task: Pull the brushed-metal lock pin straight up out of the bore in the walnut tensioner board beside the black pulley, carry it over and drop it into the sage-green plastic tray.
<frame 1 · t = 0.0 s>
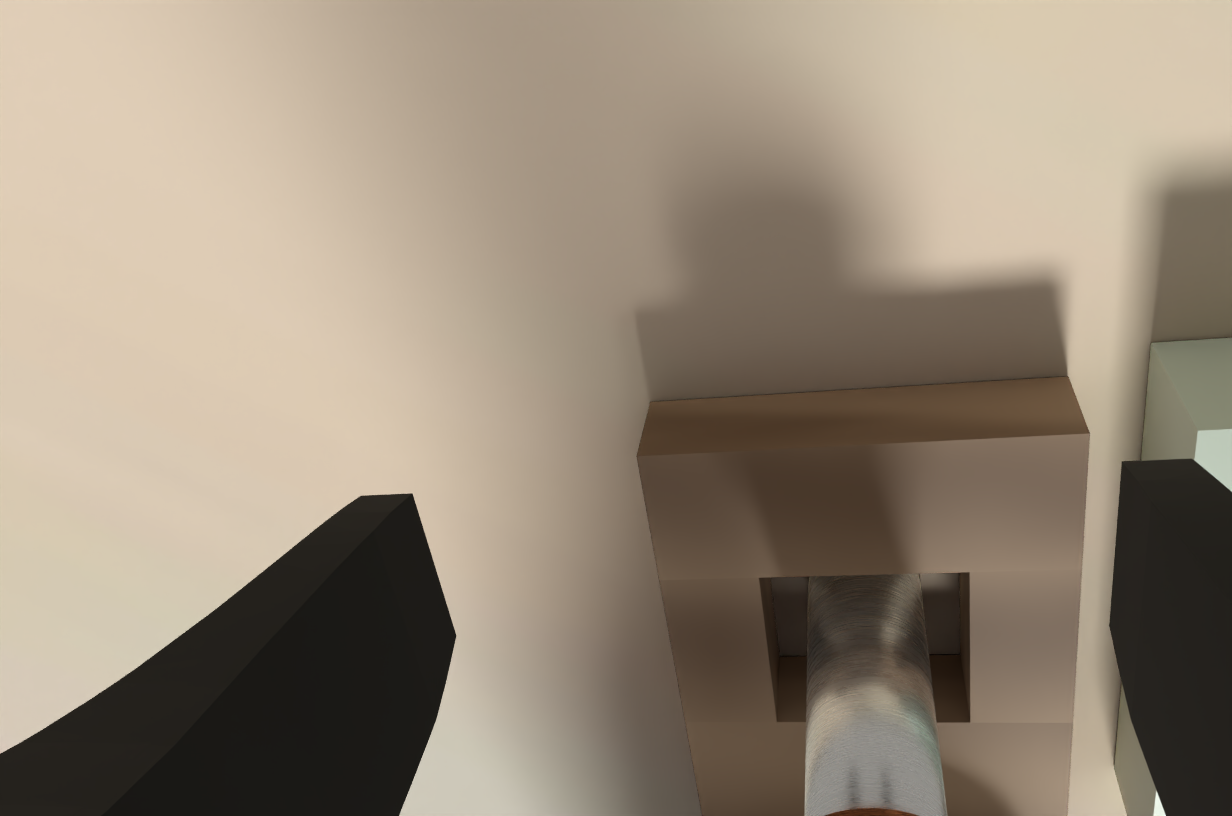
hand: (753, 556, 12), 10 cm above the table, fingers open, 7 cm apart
tensioner board: (872, 718, 26), on the table
lock pin: (864, 587, 24), resting in tensioner board
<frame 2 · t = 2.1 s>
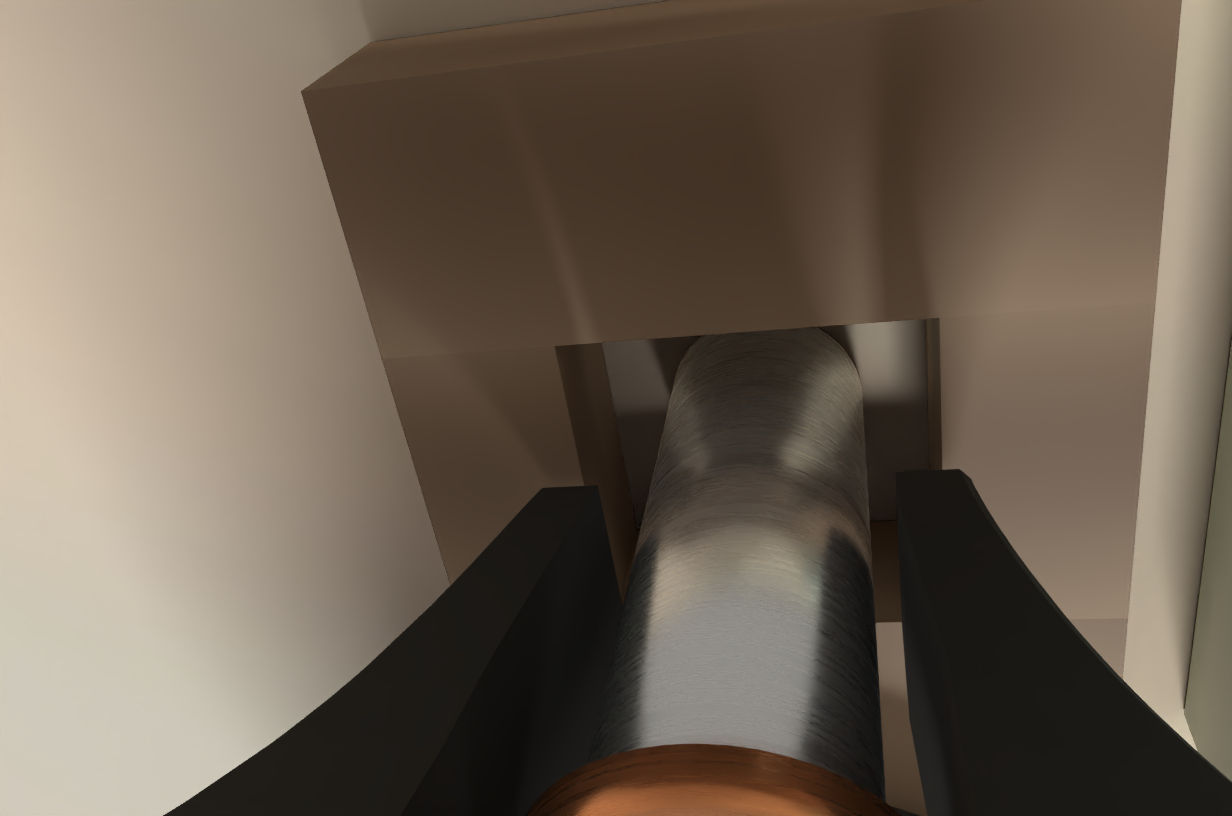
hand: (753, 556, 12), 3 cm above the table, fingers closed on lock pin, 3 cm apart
tensioner board: (791, 634, 16), on the table
lock pin: (766, 398, 14), resting in tensioner board, touching gripper
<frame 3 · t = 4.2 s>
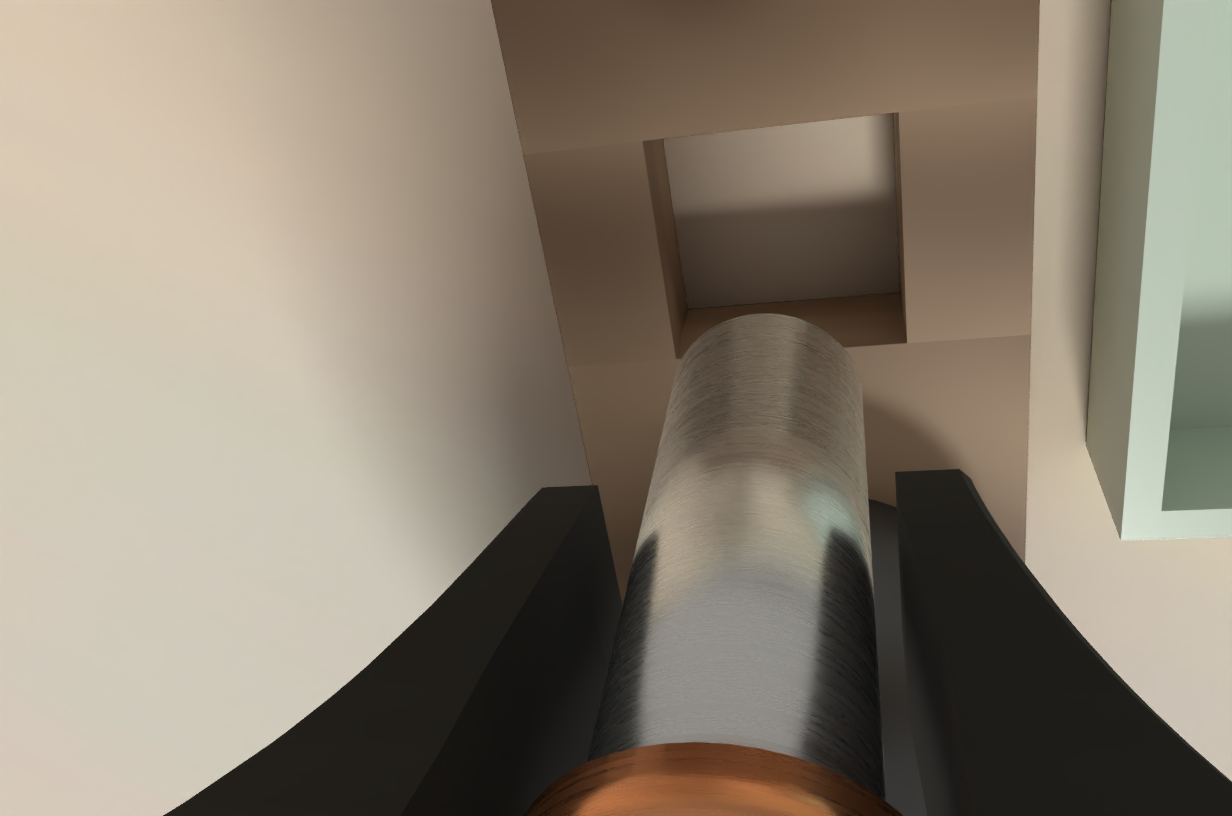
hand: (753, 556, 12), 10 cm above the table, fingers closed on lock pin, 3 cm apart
tensioner board: (799, 392, 22), on the table
lock pin: (766, 397, 14), point 7 cm above the table, touching gripper
when the fingers open (6 cm above the table, at t = 6.5 s): lock pin drops 2 cm, resting on tray.
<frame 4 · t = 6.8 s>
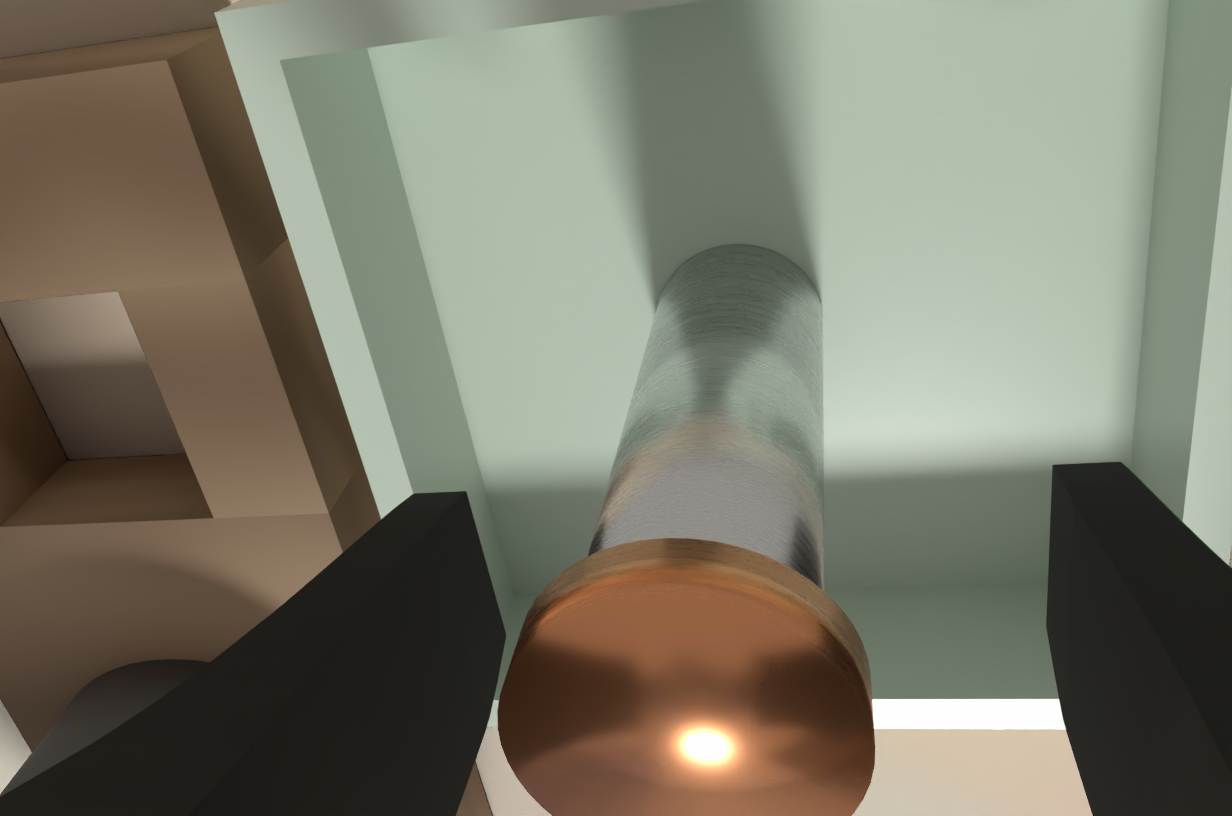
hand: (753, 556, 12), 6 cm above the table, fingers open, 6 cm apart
tensioner board: (203, 544, 21), on the table
lock pin: (739, 320, 16), point 1 cm above the table, touching tray
tray: (773, 306, 17), on the table
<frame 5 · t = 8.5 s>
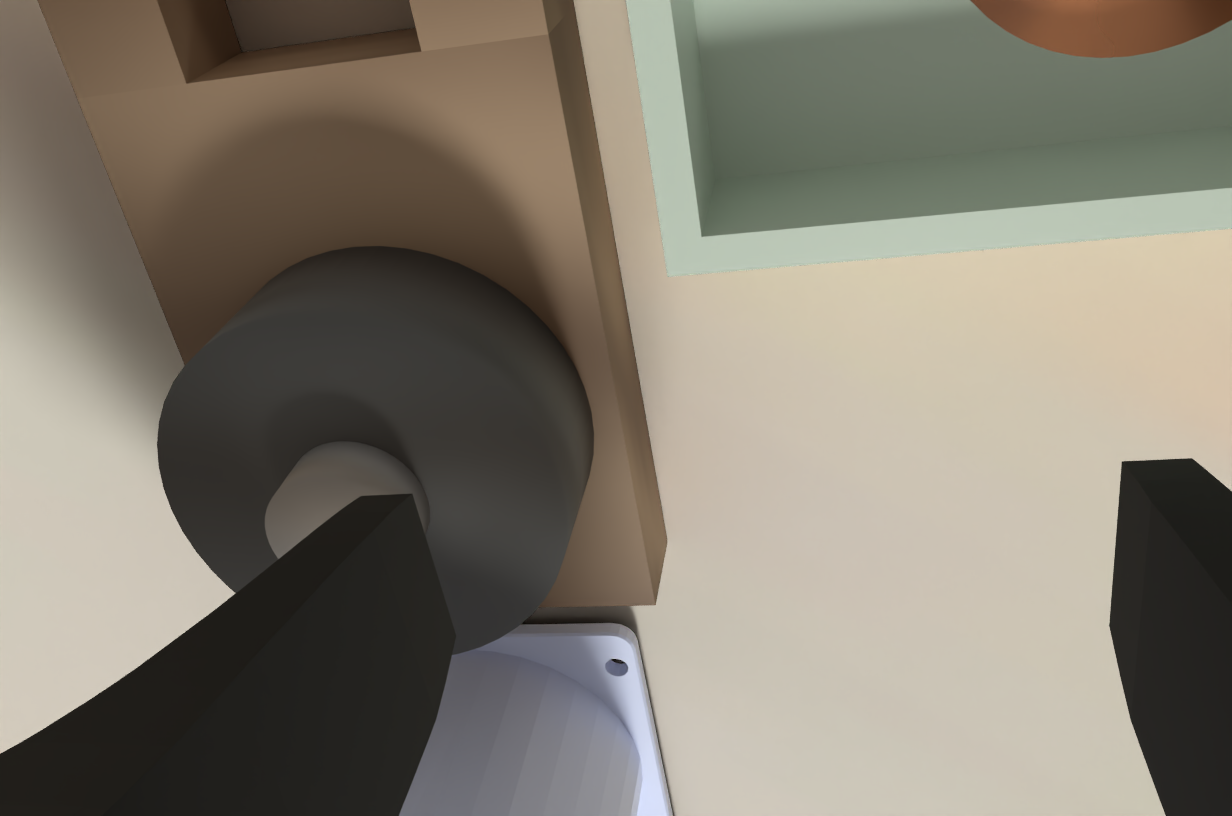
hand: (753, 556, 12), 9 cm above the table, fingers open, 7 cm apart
tensioner board: (378, 151, 20), on the table
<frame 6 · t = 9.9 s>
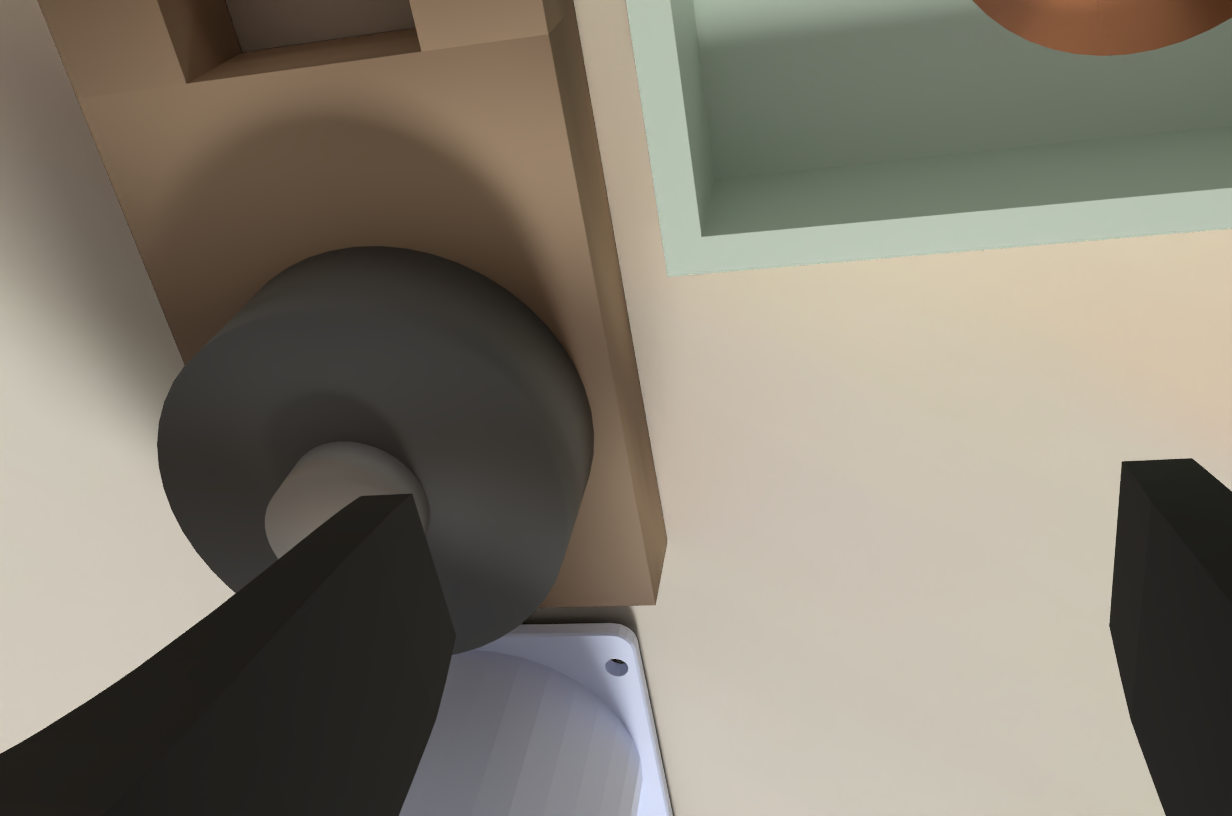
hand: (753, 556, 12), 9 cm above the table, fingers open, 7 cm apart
tensioner board: (378, 151, 20), on the table
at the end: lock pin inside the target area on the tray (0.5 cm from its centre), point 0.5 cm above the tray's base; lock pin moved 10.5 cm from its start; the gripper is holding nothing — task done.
